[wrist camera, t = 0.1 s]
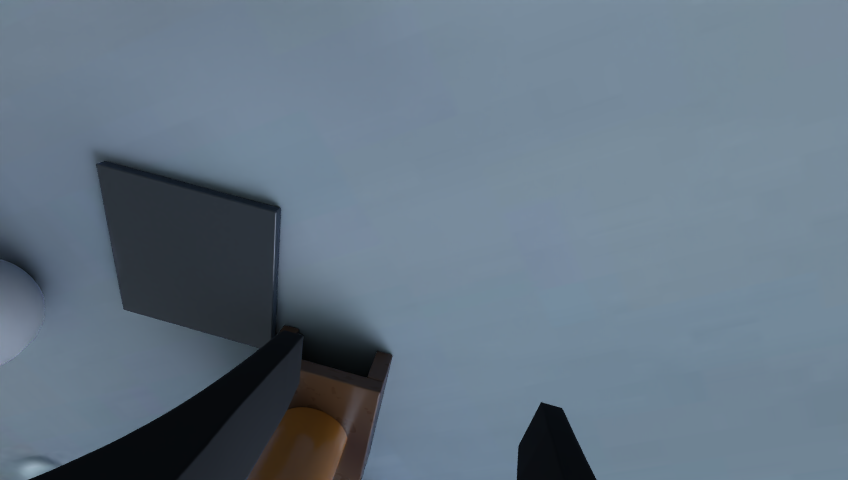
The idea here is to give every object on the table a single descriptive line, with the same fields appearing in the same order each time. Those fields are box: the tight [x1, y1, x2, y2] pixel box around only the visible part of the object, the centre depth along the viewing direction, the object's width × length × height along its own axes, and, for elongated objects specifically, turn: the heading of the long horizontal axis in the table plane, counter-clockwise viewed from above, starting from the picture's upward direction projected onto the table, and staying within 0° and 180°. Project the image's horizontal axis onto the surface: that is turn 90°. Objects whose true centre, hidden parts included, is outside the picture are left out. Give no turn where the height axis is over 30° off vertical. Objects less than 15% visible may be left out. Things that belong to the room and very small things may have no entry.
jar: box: [246, 407, 347, 480], centre depth 23 cm, size 5×5×6 cm
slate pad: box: [96, 161, 281, 348], centre depth 24 cm, size 10×10×1 cm
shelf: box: [279, 325, 392, 480], centre depth 27 cm, size 10×7×3 cm
